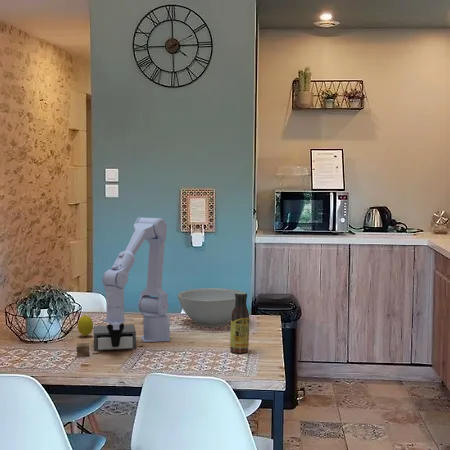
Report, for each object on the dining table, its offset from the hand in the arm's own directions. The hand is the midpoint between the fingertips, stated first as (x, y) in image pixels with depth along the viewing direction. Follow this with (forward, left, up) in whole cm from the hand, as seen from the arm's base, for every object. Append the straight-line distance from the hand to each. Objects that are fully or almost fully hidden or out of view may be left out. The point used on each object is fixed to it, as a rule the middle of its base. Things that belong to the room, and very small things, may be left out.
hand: (115, 346), depth 214 cm
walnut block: (+11, 0, -2) cm, 11 cm away
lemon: (+10, -25, -3) cm, 27 cm away
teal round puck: (0, -7, -1) cm, 7 cm away
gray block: (0, -10, -2) cm, 11 cm away
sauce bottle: (-41, +5, -3) cm, 41 cm away
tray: (0, -6, -1) cm, 6 cm away
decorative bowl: (-39, -36, -3) cm, 53 cm away
